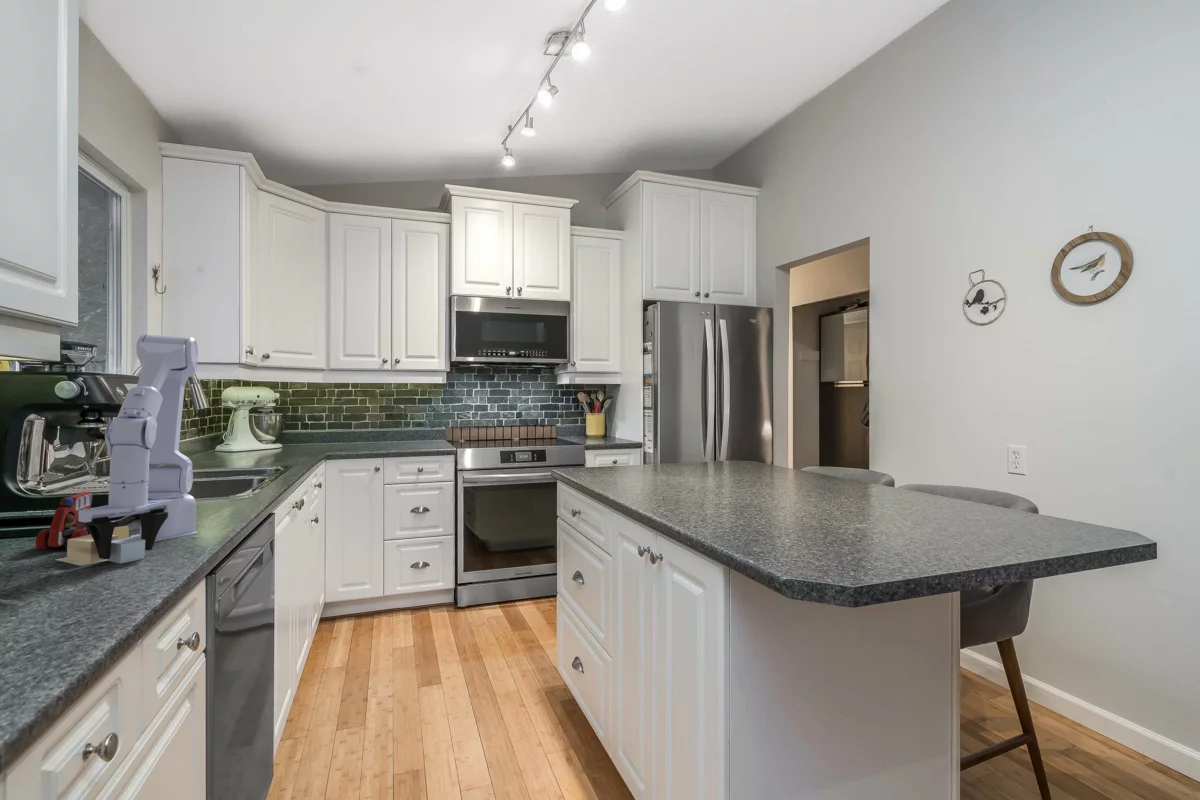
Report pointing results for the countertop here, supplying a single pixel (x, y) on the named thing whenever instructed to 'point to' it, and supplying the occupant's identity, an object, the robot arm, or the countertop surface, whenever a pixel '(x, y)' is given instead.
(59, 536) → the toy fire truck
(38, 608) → the countertop surface
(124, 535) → the ochre block
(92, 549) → the maple block
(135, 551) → the blue block
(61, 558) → the plate
